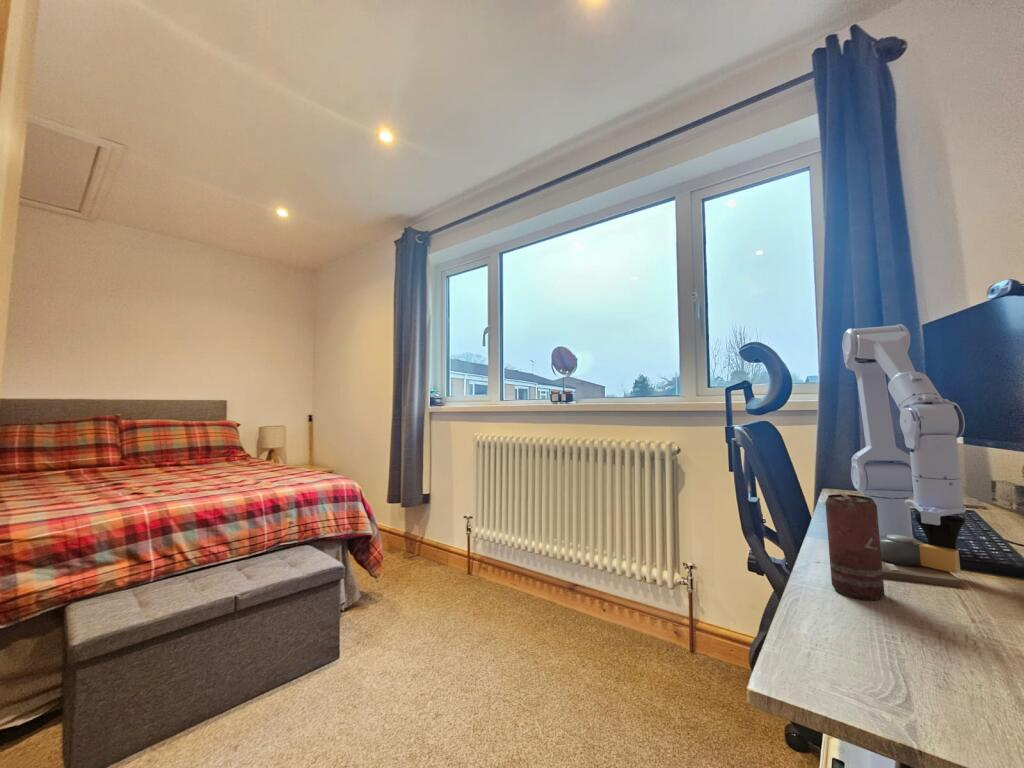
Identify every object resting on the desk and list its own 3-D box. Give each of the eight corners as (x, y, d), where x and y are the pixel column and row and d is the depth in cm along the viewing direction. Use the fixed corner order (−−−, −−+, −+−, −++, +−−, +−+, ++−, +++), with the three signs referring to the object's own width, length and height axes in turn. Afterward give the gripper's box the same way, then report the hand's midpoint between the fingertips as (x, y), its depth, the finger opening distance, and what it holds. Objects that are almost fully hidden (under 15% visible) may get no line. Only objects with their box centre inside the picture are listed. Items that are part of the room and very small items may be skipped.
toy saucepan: (871, 557, 74) (869, 535, 74) (886, 551, 76) (885, 530, 77) (951, 576, 65) (948, 551, 65) (965, 568, 68) (962, 544, 68)
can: (863, 583, 66) (855, 492, 67) (896, 601, 60) (887, 500, 61) (822, 583, 67) (815, 492, 68) (849, 601, 60) (841, 501, 61)
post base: (854, 551, 81) (854, 544, 81) (924, 558, 76) (924, 551, 76) (875, 577, 68) (875, 569, 69) (961, 587, 64) (960, 579, 64)
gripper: (912, 469, 77) (919, 545, 76) (892, 479, 68) (900, 565, 68) (969, 473, 72) (977, 555, 71) (955, 484, 63) (964, 578, 62)
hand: (943, 561), depth 69 cm, fingers closed, pressing on toy saucepan
